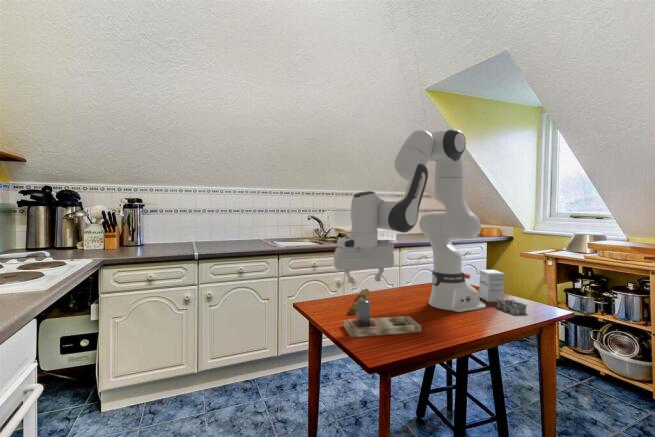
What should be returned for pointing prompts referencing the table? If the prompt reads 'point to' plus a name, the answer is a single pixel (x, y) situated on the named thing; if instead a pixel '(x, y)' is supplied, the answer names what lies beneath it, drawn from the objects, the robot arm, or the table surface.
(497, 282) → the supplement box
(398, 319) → the beige flat frame
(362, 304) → the steel peg
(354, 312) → the turned wooden spindle
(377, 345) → the table surface
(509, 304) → the egg carton
